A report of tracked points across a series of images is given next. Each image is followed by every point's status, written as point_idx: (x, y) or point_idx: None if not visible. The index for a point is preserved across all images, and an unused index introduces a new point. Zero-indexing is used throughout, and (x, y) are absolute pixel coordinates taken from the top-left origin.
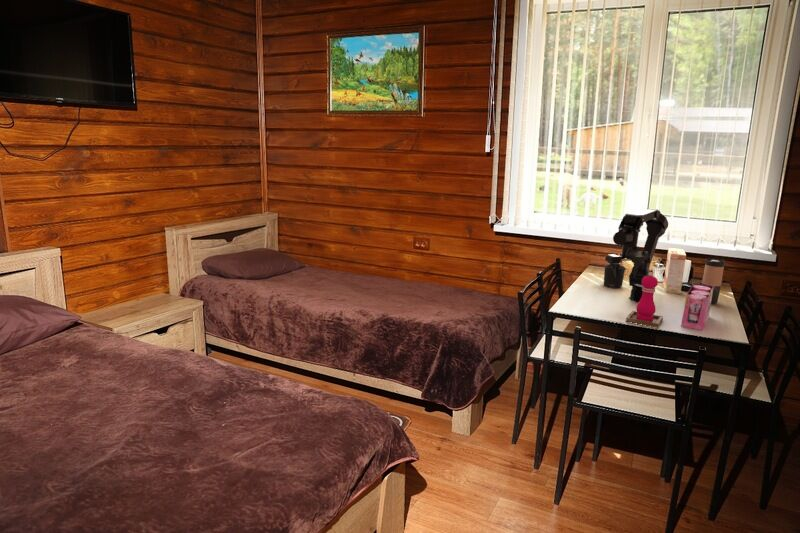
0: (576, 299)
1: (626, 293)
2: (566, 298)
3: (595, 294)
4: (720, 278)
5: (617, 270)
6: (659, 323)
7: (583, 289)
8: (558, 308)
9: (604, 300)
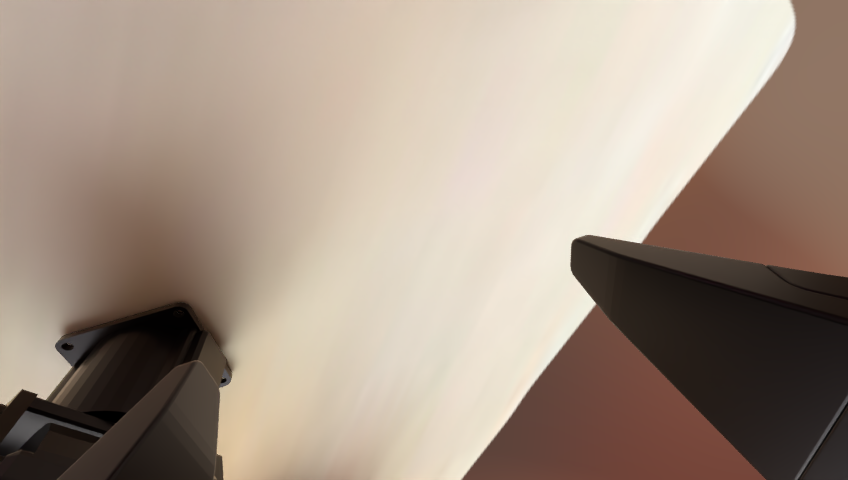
0: None
1: None
2: None
3: (429, 385)
4: None
5: (778, 280)
6: None
7: (455, 442)
8: (764, 75)
9: (424, 287)
